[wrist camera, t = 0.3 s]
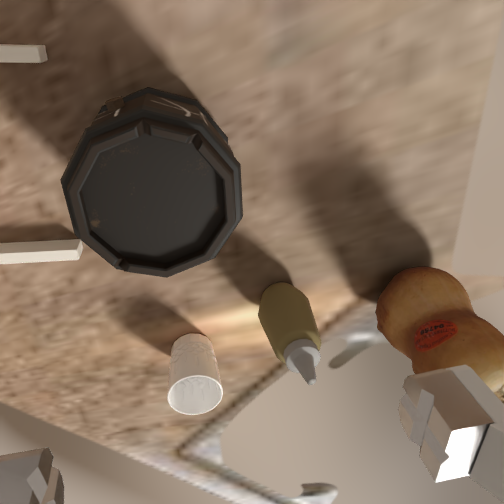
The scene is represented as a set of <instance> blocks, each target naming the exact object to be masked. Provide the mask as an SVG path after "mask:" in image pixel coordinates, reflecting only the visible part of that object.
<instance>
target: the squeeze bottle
mask: <svg viewBox="0 0 504 504" xmlns="http://www.w3.org/2000/svg"><path fill="white" fill-rule="evenodd" d="M258 317H259V319H260V322H261V325H262V327H263V329H264V331H265V333H266V335H267V337H268V339H269V342H270V344H271V346H272V348H273V350H274V352H275V354H276V356H277V358H278V359H279V360H280V361H282V362H283V363H286V365H287V368H288V369H289V370H290V371H292V372H296V373H300V374H301V375H302V377H303V378H304V379H305V381H306V382H307V383H308V384H310V385H312V384H314V383H315V382H316V374H315V367H316V366H317V364H318V363H319V361H320V357H321V356H320V352H319V350H320V346H321V339H320V335H319V332H318V329H317V326H316V322H315V319H314V316H313V313H312V310H311V306H310V303H309V300H308V298H307V297H306V296H305V295H304V294H303V293H302V292H301V291H299V290H298V289H297V288H295V287H294V286H292V285H290V284H288V283H276V284H273V285H271V286H269V287H268V288H267V289H265V291H264V293H263V294H262V297H261V302H260V306H259V313H258Z"/></svg>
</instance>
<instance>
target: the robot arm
mask: <svg viewBox="0 0 504 504" xmlns="http://www.w3.org/2000/svg"><path fill="white" fill-rule="evenodd" d="M403 388H404V390H405V392H406V394H405V395H404V396H403V397H402V398H401V399H400V401H399V407H398V411H399V417H400V422H401V424H402V427H403V429H404V431H405V433H406V434H407V436H408V438H409V439H410V440H411V441H413V442H414V443H416V444H418V445H419V446H420V455H419V456H420V458H421V460H422V461H423V463H424V464H425V466H426V468H427V469H428V471H429V473H430V474H431V476H432V477H433V479H434V481H435V482H440V481H445V480H449V479H454V478H459V477H464V476H468V475H470V477H469V478H471V479H472V480H473V481H475V482H476V483H477V484H479V485H480V486H481V487H483V488H484V489H485V490H486V491H488V492H489V493H490V494H492V495H493V496H494V497H496V498H497V499H498V500H500V501H501V502H502V503H504V404H503V403H502V402H501V400H500V399H499V398H498V397H497V396H496V395H495V394H494V393H493V392H492V390H491V389H490V388H489V387H488V386H487V385H486V384H485V383H484V382H483V380H482V379H481V378H480V377H479V376H478V375H477V374H476V373H475V372H474V370H473V369H472V368H471V367H469V366H467V365H460V366H455V367H450V368H446V369H438V370H433V371H429V372H424V373H419V374H414V375H410V376H407V377H406V378H405V379H404V383H403ZM52 462H53V455H52V453H51V451H50V449H49V448H42V449H36V450H30V451H25V452H18V453H12V454H7V455H1V456H0V504H64V484H63V479H62V475H61V473H60V471H59V469H57V468H55V467H52Z"/></svg>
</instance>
